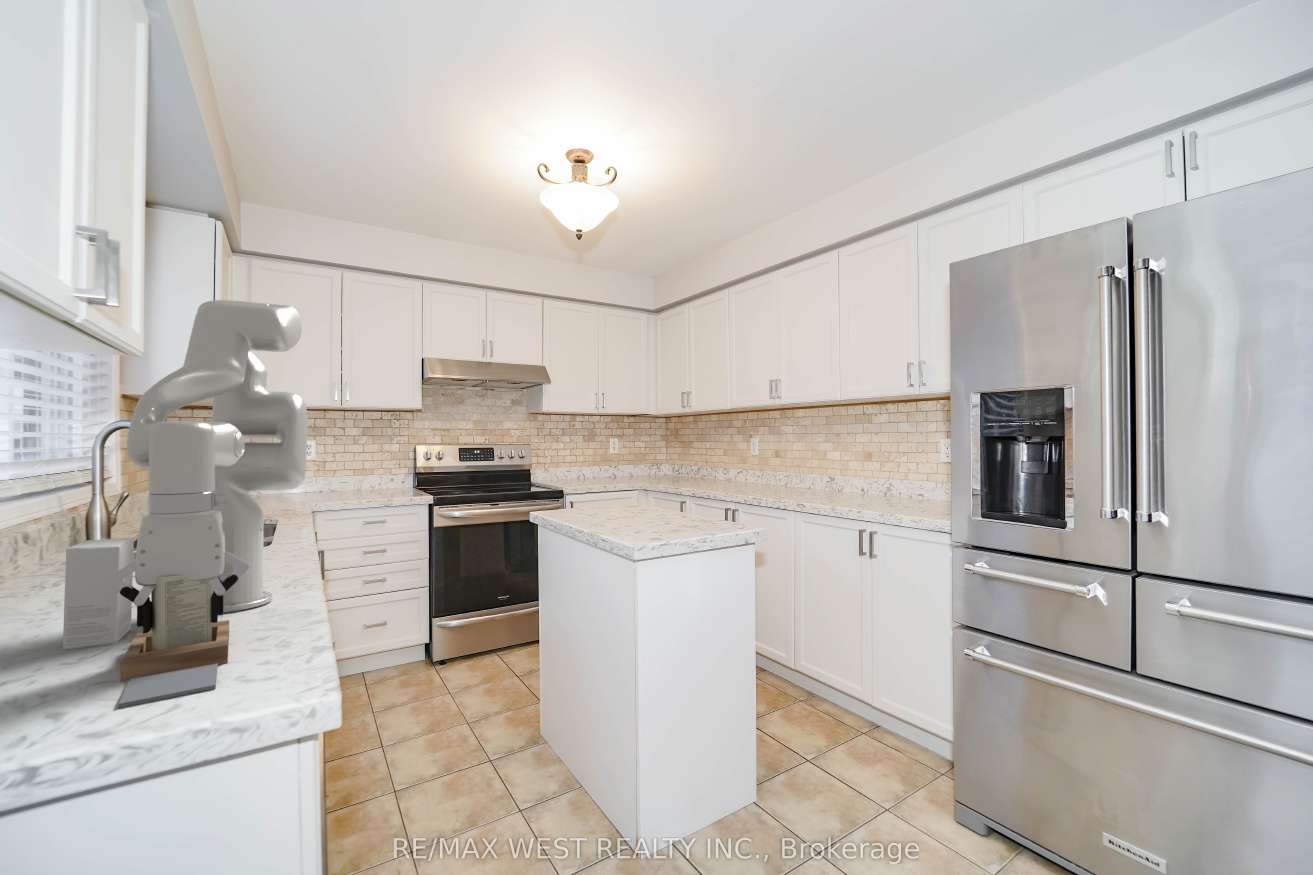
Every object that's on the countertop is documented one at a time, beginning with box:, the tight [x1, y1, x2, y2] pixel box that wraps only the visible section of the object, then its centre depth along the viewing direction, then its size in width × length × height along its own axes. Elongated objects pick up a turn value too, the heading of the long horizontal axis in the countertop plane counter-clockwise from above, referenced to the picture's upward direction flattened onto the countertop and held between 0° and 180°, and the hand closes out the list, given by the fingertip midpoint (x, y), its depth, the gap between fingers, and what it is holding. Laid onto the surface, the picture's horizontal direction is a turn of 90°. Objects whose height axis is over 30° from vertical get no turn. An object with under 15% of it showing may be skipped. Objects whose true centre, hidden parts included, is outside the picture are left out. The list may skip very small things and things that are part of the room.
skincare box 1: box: [62, 537, 135, 651], centre depth 91 cm, size 8×7×16 cm
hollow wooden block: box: [119, 619, 230, 683], centre depth 83 cm, size 15×11×2 cm
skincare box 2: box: [150, 575, 212, 651], centre depth 84 cm, size 6×4×12 cm
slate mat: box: [117, 663, 219, 709], centre depth 73 cm, size 9×9×1 cm
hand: (181, 624), depth 84 cm, fingers closed on skincare box 2, 7 cm apart
